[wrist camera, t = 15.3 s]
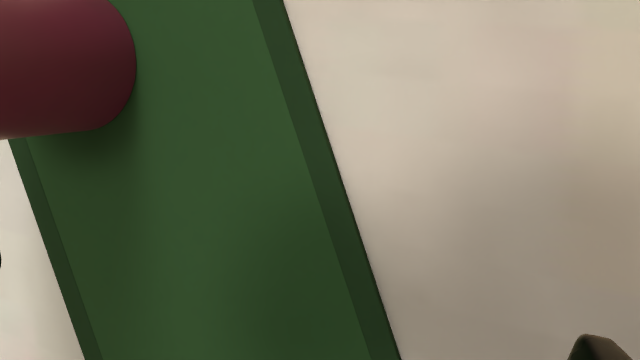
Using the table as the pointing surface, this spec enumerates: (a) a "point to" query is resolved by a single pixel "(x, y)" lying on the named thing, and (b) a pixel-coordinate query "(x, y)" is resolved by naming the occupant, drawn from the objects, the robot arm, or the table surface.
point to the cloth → (207, 202)
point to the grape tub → (62, 66)
